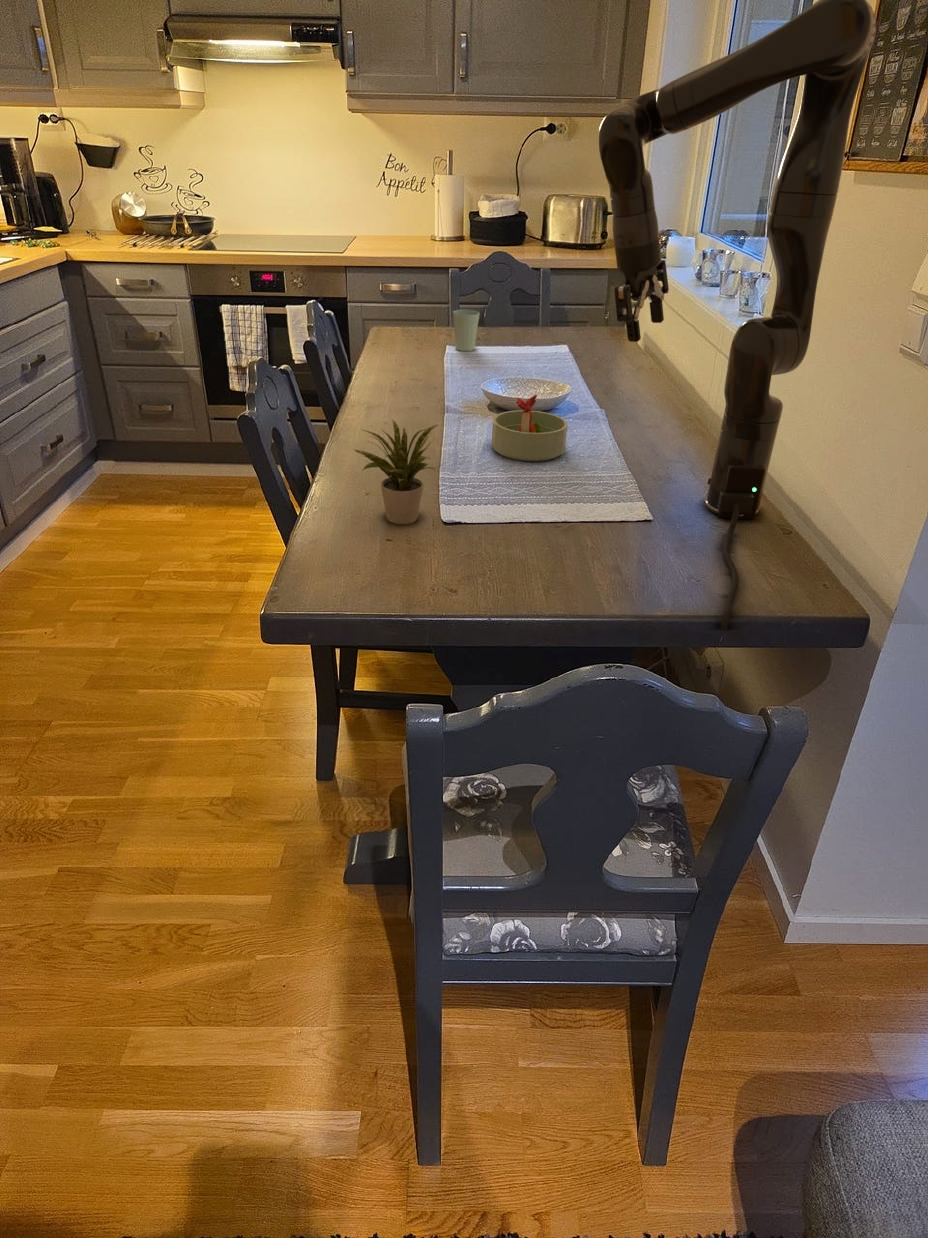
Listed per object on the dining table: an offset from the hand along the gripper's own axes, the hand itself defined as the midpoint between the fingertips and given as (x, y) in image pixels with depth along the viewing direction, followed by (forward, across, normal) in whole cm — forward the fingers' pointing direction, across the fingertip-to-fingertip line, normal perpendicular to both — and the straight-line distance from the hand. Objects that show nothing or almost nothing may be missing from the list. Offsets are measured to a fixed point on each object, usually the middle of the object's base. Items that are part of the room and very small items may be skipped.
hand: (646, 331), depth 152 cm
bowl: (+22, -10, +25) cm, 34 cm away
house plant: (+12, -51, +20) cm, 56 cm away
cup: (+27, +47, +90) cm, 105 cm away
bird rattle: (+21, -10, +25) cm, 34 cm away
